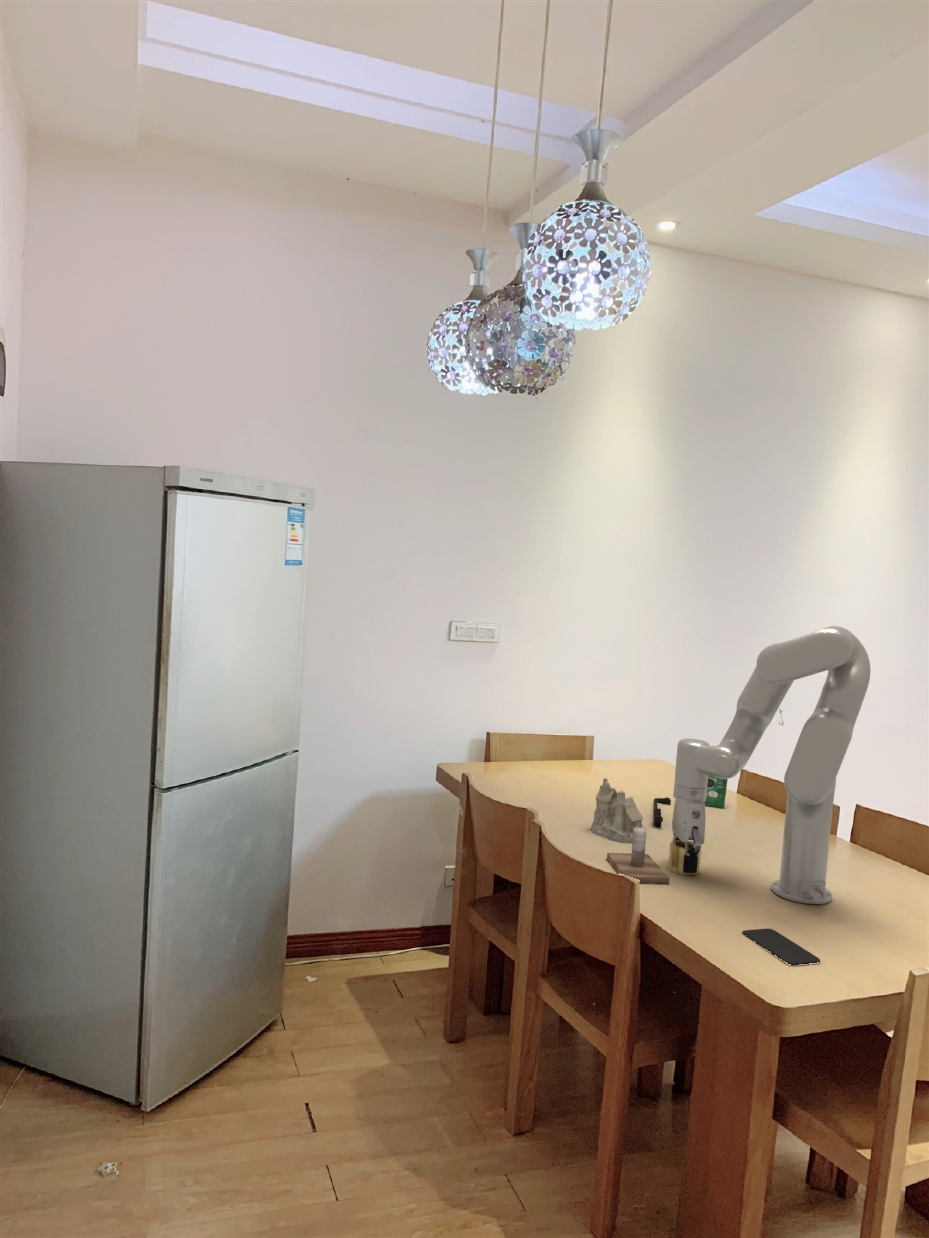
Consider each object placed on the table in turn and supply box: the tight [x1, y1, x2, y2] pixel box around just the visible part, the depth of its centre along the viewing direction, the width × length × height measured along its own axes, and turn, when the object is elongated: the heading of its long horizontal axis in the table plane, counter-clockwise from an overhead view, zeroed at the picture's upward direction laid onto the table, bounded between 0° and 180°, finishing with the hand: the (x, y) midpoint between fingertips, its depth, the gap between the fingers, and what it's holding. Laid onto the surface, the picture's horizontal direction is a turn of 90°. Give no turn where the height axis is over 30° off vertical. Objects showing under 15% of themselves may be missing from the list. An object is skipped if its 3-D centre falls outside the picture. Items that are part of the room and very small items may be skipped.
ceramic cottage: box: [590, 777, 644, 845], centre depth 238 cm, size 16×16×15 cm
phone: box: [741, 928, 821, 965], centre depth 170 cm, size 7×1×15 cm
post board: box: [606, 826, 670, 885], centre depth 208 cm, size 16×10×10 cm, turn 6°
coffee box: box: [704, 775, 728, 809], centre depth 271 cm, size 8×3×13 cm, turn 67°
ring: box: [667, 840, 703, 876], centre depth 211 cm, size 7×7×6 cm
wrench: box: [653, 796, 672, 828], centre depth 257 cm, size 5×5×30 cm
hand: (684, 865), depth 211 cm, fingers closed on ring, 7 cm apart
